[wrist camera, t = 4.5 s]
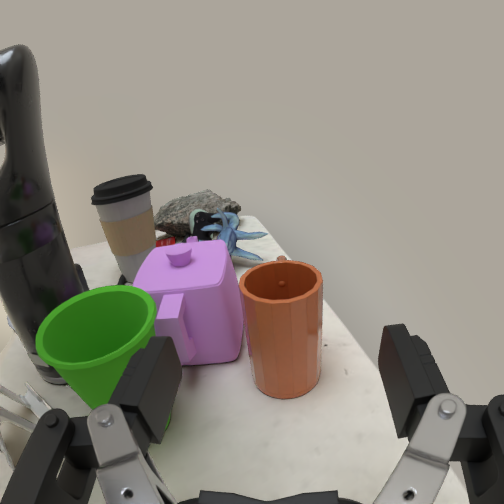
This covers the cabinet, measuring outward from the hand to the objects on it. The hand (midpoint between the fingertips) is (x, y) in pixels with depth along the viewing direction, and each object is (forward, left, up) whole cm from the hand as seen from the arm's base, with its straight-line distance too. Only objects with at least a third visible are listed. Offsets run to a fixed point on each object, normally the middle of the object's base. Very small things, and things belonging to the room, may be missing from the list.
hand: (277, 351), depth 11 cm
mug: (-13, 0, -13) cm, 19 cm away
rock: (-51, -19, -14) cm, 56 cm away
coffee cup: (-32, -22, -14) cm, 41 cm away
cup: (-5, -12, -14) cm, 19 cm away
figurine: (-37, -8, -9) cm, 39 cm away
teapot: (-18, -10, -14) cm, 25 cm away
